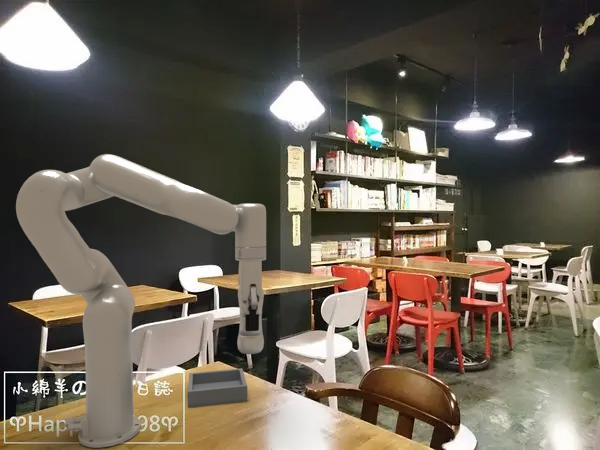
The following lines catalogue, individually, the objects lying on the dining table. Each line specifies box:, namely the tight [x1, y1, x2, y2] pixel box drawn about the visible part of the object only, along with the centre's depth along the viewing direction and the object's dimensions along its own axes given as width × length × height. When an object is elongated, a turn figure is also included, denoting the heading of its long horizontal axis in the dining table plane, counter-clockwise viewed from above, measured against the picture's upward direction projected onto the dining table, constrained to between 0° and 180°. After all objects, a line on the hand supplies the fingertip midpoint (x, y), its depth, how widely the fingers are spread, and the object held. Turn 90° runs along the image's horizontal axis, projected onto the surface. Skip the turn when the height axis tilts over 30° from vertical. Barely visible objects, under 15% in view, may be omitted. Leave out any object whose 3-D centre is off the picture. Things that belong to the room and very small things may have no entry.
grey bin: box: [187, 368, 248, 408], centre depth 112 cm, size 15×13×4 cm
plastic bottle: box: [236, 288, 265, 355], centre depth 101 cm, size 6×7×20 cm
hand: (250, 326), depth 101 cm, fingers closed on plastic bottle, 5 cm apart
